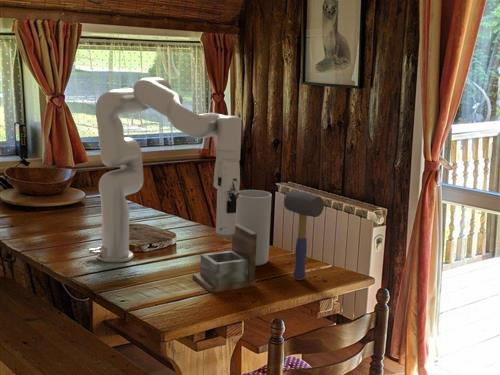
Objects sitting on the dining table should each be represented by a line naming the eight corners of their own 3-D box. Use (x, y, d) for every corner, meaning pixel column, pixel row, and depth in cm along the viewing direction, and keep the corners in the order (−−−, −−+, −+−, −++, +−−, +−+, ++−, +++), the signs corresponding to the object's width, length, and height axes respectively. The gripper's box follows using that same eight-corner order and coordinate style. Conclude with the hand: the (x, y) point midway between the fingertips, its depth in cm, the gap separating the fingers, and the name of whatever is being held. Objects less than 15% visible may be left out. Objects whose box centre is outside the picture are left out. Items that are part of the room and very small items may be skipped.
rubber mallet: (278, 276, 223) (282, 190, 216) (292, 271, 228) (297, 187, 222) (306, 286, 214) (312, 197, 208) (320, 281, 219) (326, 194, 213)
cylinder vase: (228, 263, 234) (230, 194, 229) (241, 253, 246) (244, 188, 241) (260, 268, 230) (264, 199, 225) (273, 258, 241) (276, 192, 236)
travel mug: (221, 239, 207) (223, 177, 203) (212, 233, 213) (214, 173, 209) (238, 237, 210) (241, 176, 206) (229, 231, 216) (232, 172, 212)
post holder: (210, 292, 205) (212, 238, 202) (192, 278, 217) (194, 227, 214) (255, 285, 213) (257, 234, 209) (235, 272, 225) (237, 223, 221)
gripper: (206, 151, 212) (204, 205, 216) (230, 160, 197) (228, 217, 201) (226, 150, 216) (224, 203, 219) (251, 159, 201) (249, 215, 204)
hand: (226, 209), depth 210 cm, fingers closed on travel mug, 6 cm apart
